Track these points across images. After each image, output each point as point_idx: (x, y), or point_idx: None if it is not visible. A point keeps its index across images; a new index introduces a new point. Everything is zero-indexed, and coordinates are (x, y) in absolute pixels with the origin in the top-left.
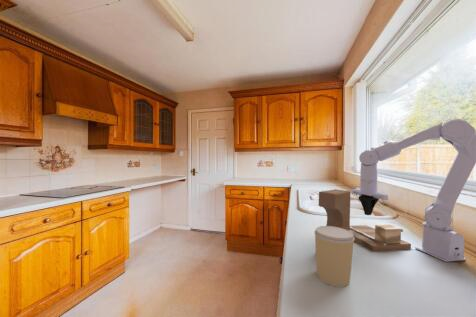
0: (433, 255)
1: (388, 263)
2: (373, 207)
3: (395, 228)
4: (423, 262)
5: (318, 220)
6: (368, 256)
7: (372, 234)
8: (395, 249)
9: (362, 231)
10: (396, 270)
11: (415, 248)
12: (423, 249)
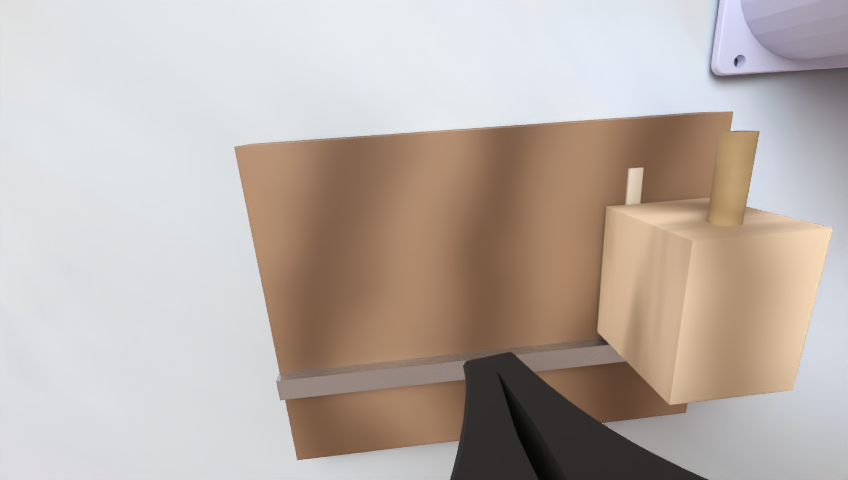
0: (842, 67)
1: (780, 404)
2: (589, 421)
3: (807, 282)
4: (842, 215)
5: (18, 454)
6: (700, 447)
7: (507, 279)
8: None
9: (432, 316)
10: (833, 414)
11: (716, 74)
12: (774, 52)
